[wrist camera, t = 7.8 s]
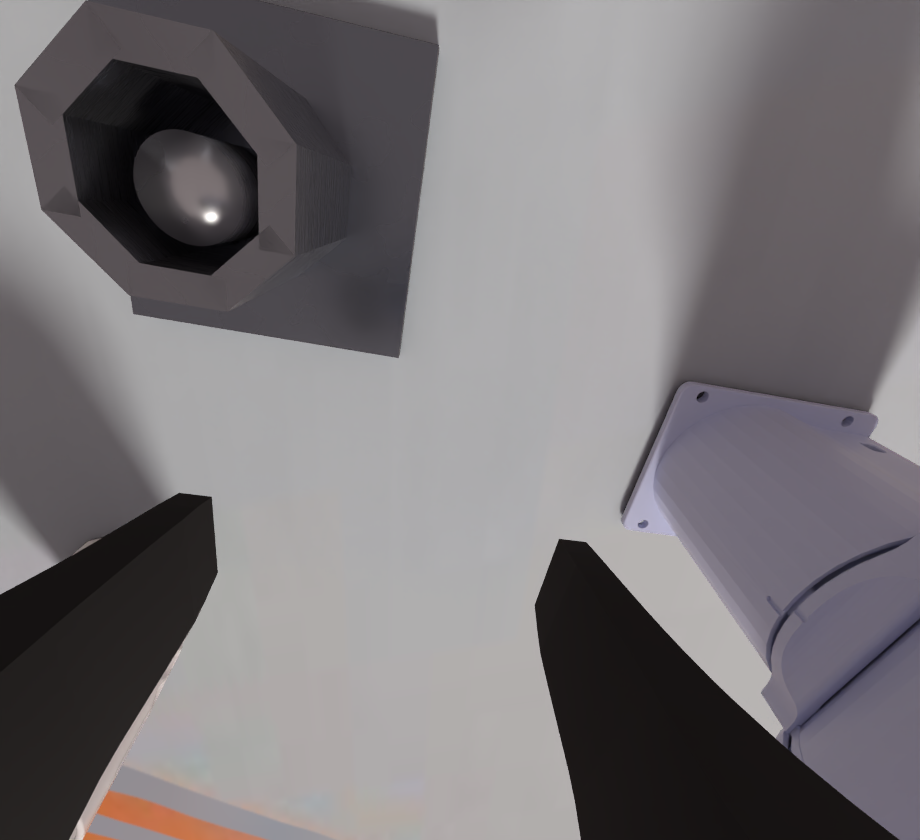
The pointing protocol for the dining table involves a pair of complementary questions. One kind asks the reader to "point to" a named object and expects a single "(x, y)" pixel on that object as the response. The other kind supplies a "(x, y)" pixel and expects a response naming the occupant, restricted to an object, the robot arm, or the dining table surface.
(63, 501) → the dining table surface
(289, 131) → the tube
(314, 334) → the post
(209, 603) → the dining table surface
